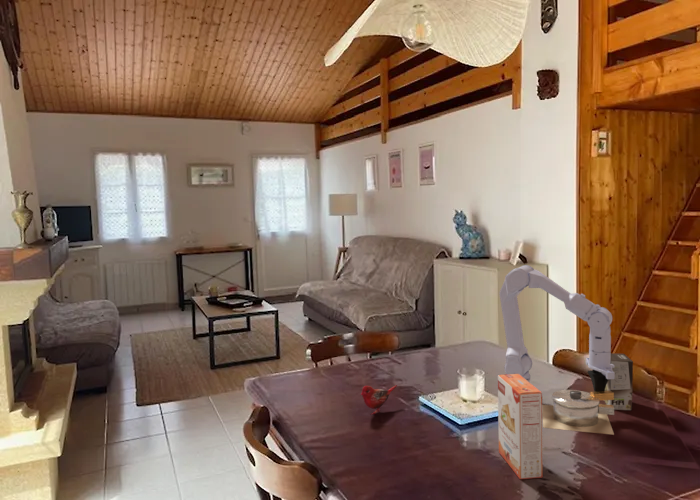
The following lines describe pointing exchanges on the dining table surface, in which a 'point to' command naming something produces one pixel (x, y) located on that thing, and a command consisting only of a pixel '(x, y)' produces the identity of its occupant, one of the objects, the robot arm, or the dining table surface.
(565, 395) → the lid with handle
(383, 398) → the decorative bird figurine
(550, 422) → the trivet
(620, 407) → the coffee box
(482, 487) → the dining table surface
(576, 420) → the pot
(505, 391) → the cracker box
